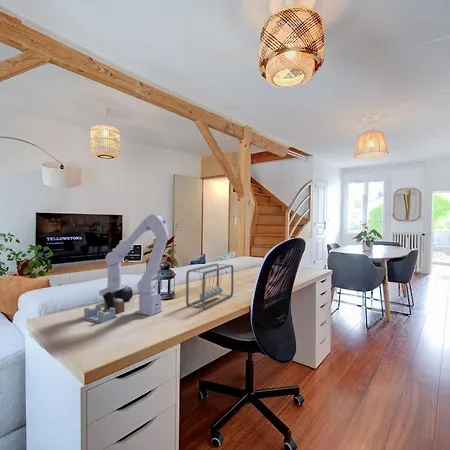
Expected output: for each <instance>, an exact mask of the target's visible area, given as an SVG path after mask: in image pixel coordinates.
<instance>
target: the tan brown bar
mask: <svg viewBox="0 0 450 450" xmlns="http://www.w3.org/2000/svg"><path fill="white" fill-rule="evenodd" d="M125 302H126V301H123V299H119V298H116V299H115V298H113V305H112V308H115V314H121V313H124V312H125ZM106 310H108V311H109V309H108V308H107V304H106V302H105V299H104V298H103V311H106ZM108 311H107V312H108Z"/></svg>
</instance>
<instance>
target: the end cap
mask: <svg viewBox="0 0 450 450" xmlns="http://www.w3.org/2000/svg"><path fill="white" fill-rule="evenodd" d="M124 290H125V291H126V293H125V295H124V297H123V301H125V300H126V301H130V300H131V299H133V298H132V297H133V294H134V292H133V289H132V287H131V286H128V289H124ZM111 294H112V295H114V298H115V299H116V296H115V292H112V293H111ZM126 301H125V302H126Z"/></svg>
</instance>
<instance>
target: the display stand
mask: <svg viewBox="0 0 450 450" xmlns="http://www.w3.org/2000/svg"><path fill="white" fill-rule="evenodd" d="M83 310H84V315H83V316H82V320H85V319H86V320H85V321H88V322H89V321H90V322H94V323H97V324H103V323H106V322H109V321H112V320H114V319H117V315H116V313H115V308H109V311H103V310H102V305H101V304H96V305H95V307H94V308H92V309H91V308H88V307H85V308H84V309H83Z"/></svg>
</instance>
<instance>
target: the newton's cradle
mask: <svg viewBox="0 0 450 450" xmlns="http://www.w3.org/2000/svg"><path fill="white" fill-rule="evenodd" d="M228 268H231V271H230V272H231V274H230V275H231V276H230V277H231V278H230V281H231V283H230V286H231V287H230V291H231V292H230V294H224V293H223V290H224V289H223V287H222V286H221V285H220V284H221V282H222V280H220V278H222V275H223V274H221V275H220V271H221V272H223V270H224V269H228ZM191 272H193V273H200V274H201V273H202V278H201V276H199V277H200V280H201V279H202V280H201V283H200V286H201V291H202V292H201V293H200V294H199V297H198V298H199V299H198V300H195V301H192V302H190V303H189V295H190V294H189V293H190V292H189V289H190V288H189V280H190V279H189V277H190V276H189V275H190V273H191ZM213 273H214V274H213ZM215 273H216V274H215ZM209 274H211V275H209ZM212 275H213V277H215V275H216V285H212V286H211V285H209V286H208V288H207V286H206V285H207V280H206V279H207V277H208V276H209V278H208V281H209V282H208V284H211V276H212ZM205 276H206V277H205ZM220 276H221V277H220ZM212 280H213V281H212V283H215V278H212ZM209 288H210V289H209ZM205 290H206V291H205ZM217 295H220V296H226V297H223V298H221V299H219V300H217V301H214V302H212V303H210V304H209V305H205V304H206V302H205V301H206V300H207V299H210V298H212V297H214V296H217ZM233 295H234V265H233V264H224V265H223V264H219V263H216V262H215V263H212V264H208V265H204V266H200V267H199V266H198V267H196V268H191V269H188V270H187V271H186V275H185V303H186V304H185V305H186V306H187V307H191V306H192V307H197V308H201V309H204V310H207V309H209V308H211V307H213V306H215V305H217V304H219V303H222V302H223V301H226V300H227V299H230V298H232V297H233ZM200 302H202V303H201V306H200V305H199V306H198V305H196V304H198V303H200Z"/></svg>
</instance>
